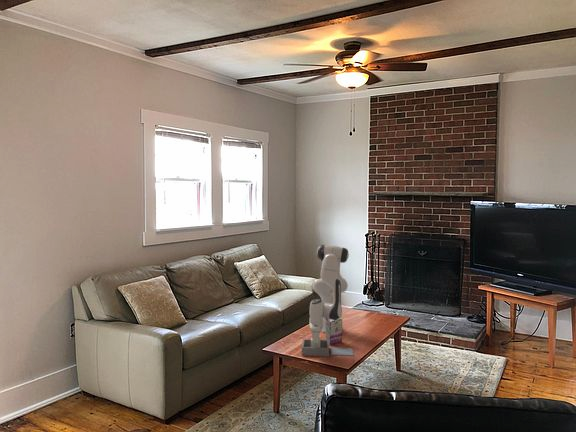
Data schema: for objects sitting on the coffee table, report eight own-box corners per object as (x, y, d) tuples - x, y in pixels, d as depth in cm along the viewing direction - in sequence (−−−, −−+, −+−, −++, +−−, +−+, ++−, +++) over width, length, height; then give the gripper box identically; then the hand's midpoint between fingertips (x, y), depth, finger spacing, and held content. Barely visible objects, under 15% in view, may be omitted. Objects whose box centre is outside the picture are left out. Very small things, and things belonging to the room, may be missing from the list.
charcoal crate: (303, 346, 300) (303, 339, 300) (328, 347, 299) (328, 340, 299) (301, 355, 285) (301, 347, 284) (328, 356, 283) (328, 348, 283)
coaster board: (331, 348, 297) (331, 347, 297) (352, 349, 296) (352, 348, 296) (331, 355, 285) (331, 354, 285) (353, 356, 284) (353, 355, 284)
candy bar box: (337, 340, 313) (337, 317, 312) (342, 342, 309) (342, 318, 308) (325, 343, 307) (325, 319, 306) (330, 345, 303) (330, 321, 302)
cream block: (311, 349, 294) (311, 337, 294) (320, 350, 294) (320, 338, 293) (310, 352, 290) (310, 340, 289) (320, 352, 289) (320, 340, 289)
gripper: (311, 320, 301) (311, 340, 302) (310, 329, 281) (310, 351, 282) (321, 320, 301) (320, 340, 301) (320, 329, 280) (320, 351, 281)
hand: (315, 346), depth 291 cm, fingers open, 8 cm apart
